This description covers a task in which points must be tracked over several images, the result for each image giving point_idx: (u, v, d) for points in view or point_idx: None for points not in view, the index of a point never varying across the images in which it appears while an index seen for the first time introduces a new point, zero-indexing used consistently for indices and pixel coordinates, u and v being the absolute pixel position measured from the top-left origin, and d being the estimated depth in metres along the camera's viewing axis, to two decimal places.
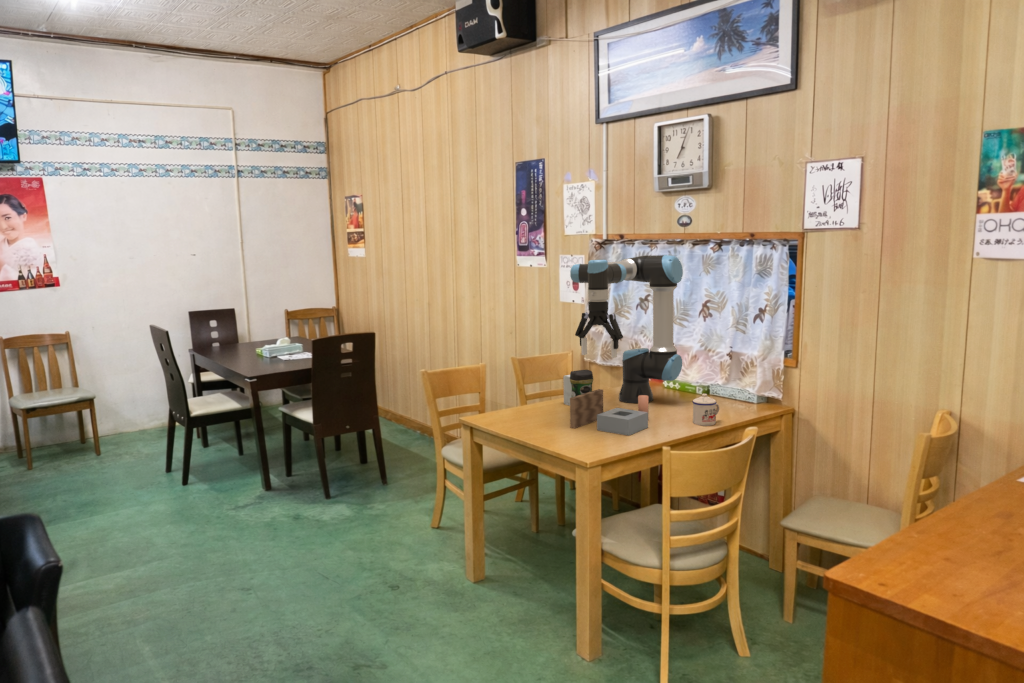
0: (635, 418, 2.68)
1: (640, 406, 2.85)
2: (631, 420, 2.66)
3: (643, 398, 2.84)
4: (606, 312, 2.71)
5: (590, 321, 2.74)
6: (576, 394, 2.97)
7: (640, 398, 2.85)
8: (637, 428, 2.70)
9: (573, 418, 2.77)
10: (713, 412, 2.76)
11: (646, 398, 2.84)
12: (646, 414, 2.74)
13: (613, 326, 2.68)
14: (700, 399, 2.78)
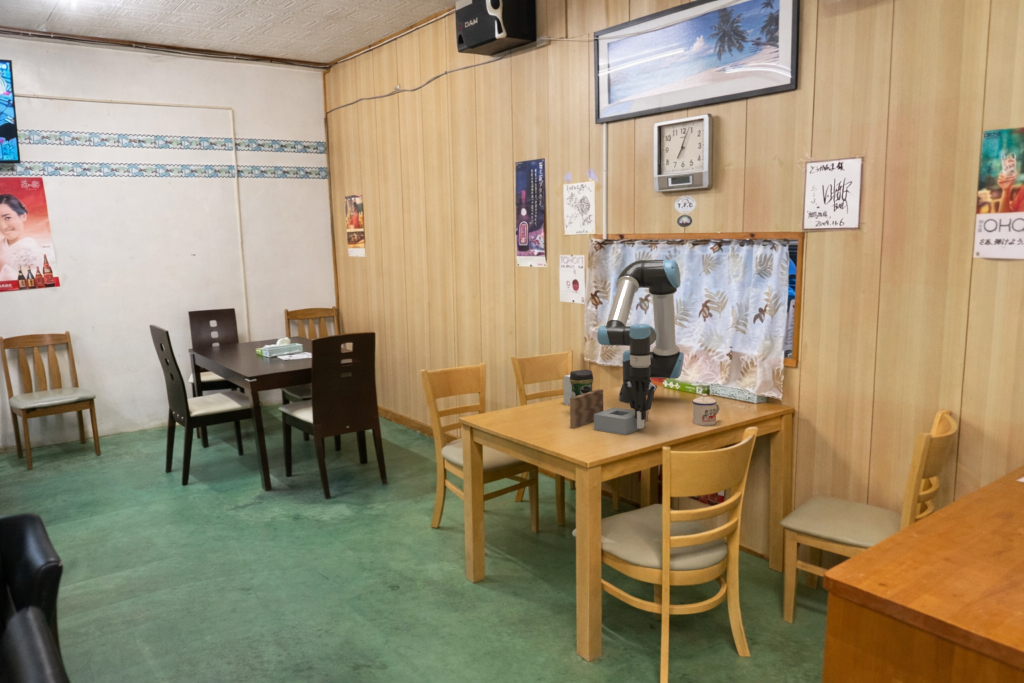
0: (632, 418, 2.69)
1: None
2: (628, 420, 2.67)
3: None
4: (649, 378, 2.65)
5: (635, 388, 2.67)
6: (576, 394, 2.97)
7: None
8: (634, 427, 2.71)
9: (573, 418, 2.77)
10: (713, 412, 2.76)
11: None
12: None
13: (648, 397, 2.65)
14: (700, 399, 2.78)
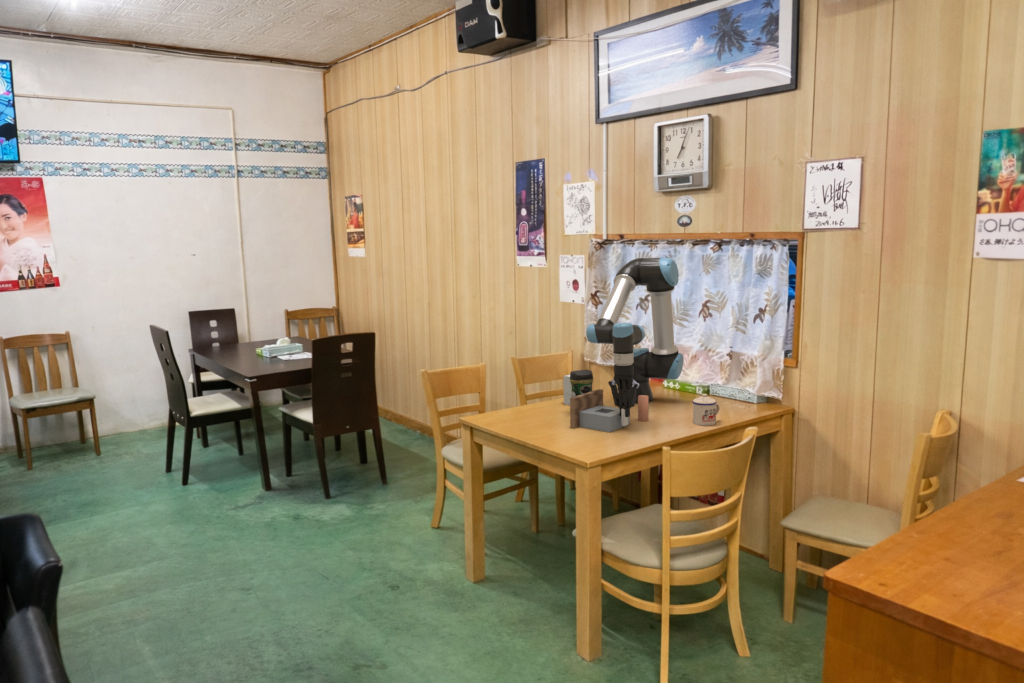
0: (617, 415, 2.73)
1: (640, 406, 2.85)
2: (612, 417, 2.71)
3: (643, 398, 2.84)
4: (632, 376, 2.69)
5: (618, 386, 2.72)
6: (576, 394, 2.97)
7: (640, 398, 2.85)
8: (619, 425, 2.75)
9: (573, 418, 2.77)
10: (713, 412, 2.76)
11: (646, 398, 2.84)
12: None
13: (632, 395, 2.69)
14: (700, 399, 2.78)
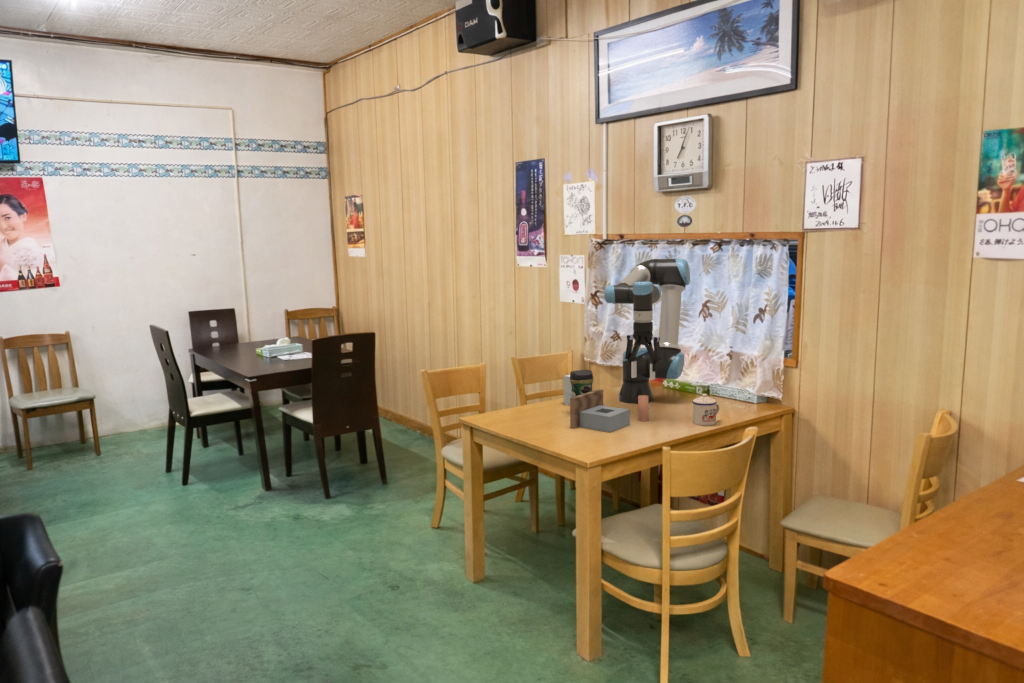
0: (617, 415, 2.73)
1: (640, 406, 2.85)
2: (613, 417, 2.71)
3: (643, 398, 2.84)
4: (651, 332, 2.80)
5: (636, 342, 2.83)
6: (576, 394, 2.97)
7: (640, 398, 2.85)
8: (619, 425, 2.75)
9: (573, 418, 2.77)
10: (713, 412, 2.76)
11: (646, 398, 2.84)
12: (628, 411, 2.79)
13: (655, 349, 2.78)
14: (700, 399, 2.78)
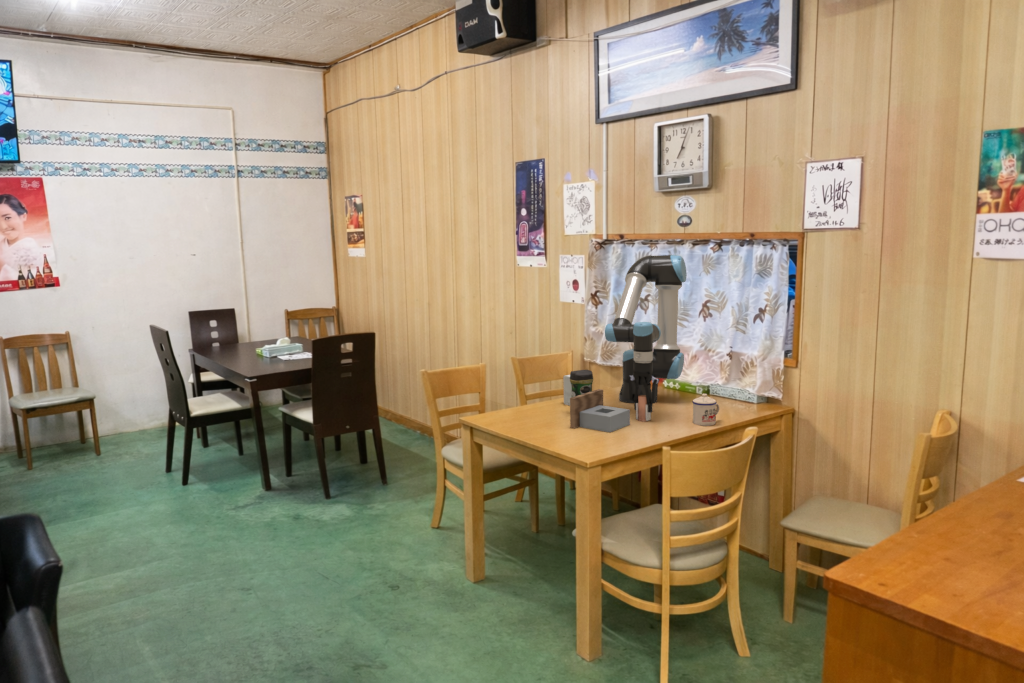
0: (617, 415, 2.73)
1: (640, 406, 2.85)
2: (613, 417, 2.71)
3: (643, 398, 2.84)
4: (651, 373, 2.82)
5: (637, 382, 2.85)
6: (576, 394, 2.97)
7: (640, 398, 2.84)
8: (619, 425, 2.75)
9: (573, 418, 2.77)
10: (713, 412, 2.76)
11: (646, 398, 2.84)
12: (628, 411, 2.79)
13: (653, 390, 2.81)
14: (700, 399, 2.77)
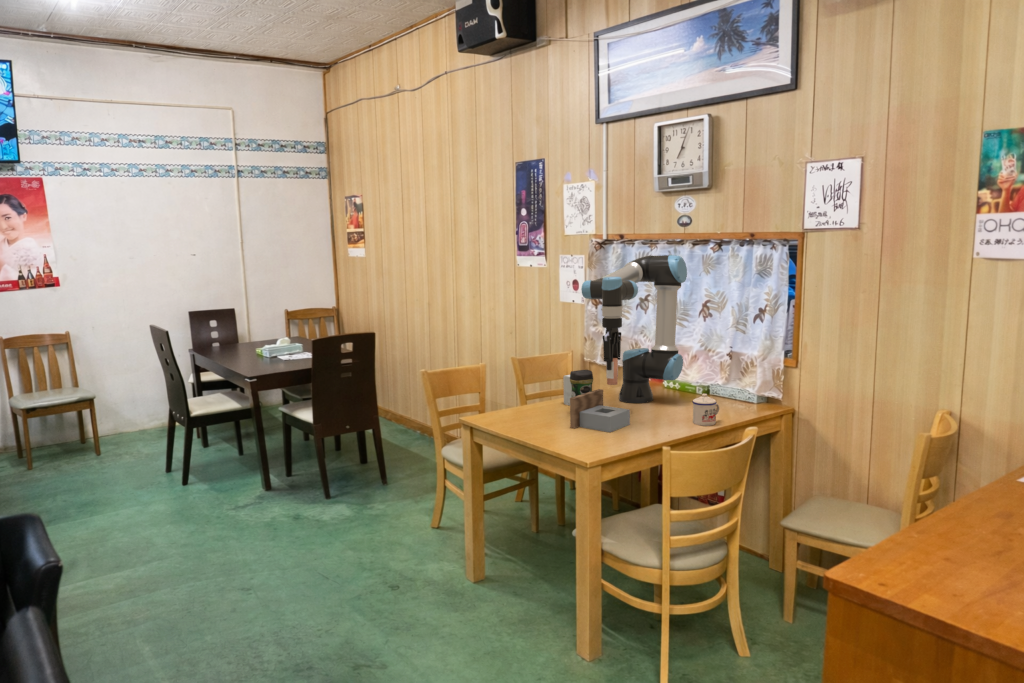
0: (617, 415, 2.73)
1: None
2: (613, 417, 2.71)
3: None
4: (608, 329, 2.73)
5: None
6: (576, 394, 2.97)
7: None
8: (619, 425, 2.75)
9: (573, 418, 2.77)
10: (713, 412, 2.76)
11: None
12: (628, 411, 2.79)
13: None
14: (700, 399, 2.78)
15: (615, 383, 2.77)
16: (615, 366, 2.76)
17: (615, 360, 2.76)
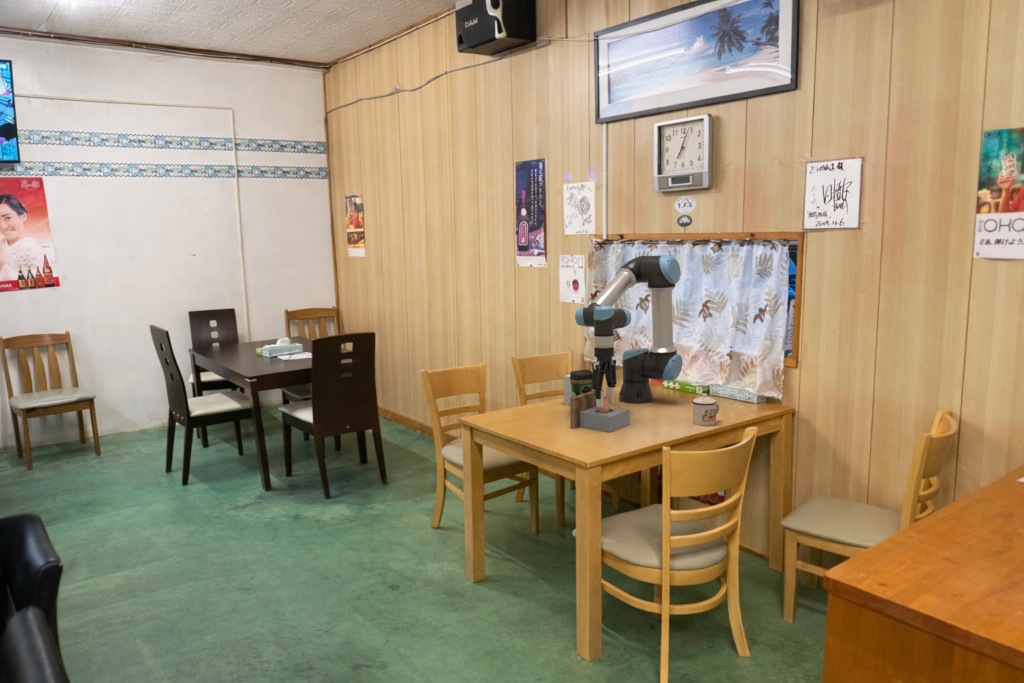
0: (617, 415, 2.73)
1: None
2: (613, 417, 2.71)
3: None
4: (598, 358, 2.74)
5: None
6: (576, 394, 2.97)
7: None
8: (619, 425, 2.75)
9: (573, 418, 2.77)
10: (713, 412, 2.76)
11: None
12: (628, 411, 2.79)
13: None
14: (700, 399, 2.78)
15: None
16: (605, 406, 2.76)
17: (605, 400, 2.76)
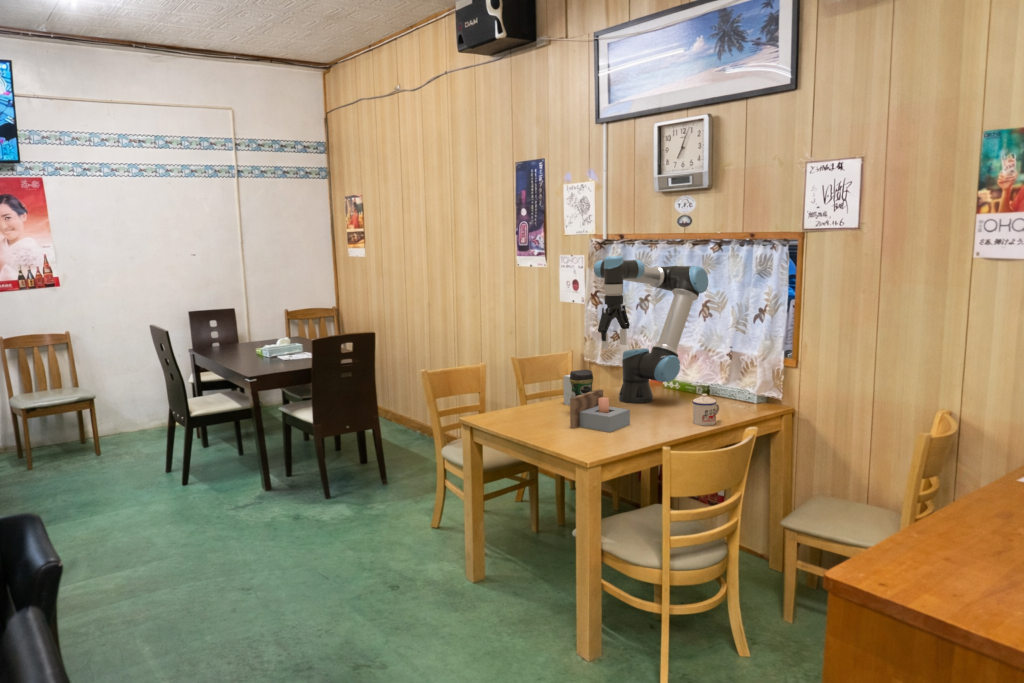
0: (617, 415, 2.73)
1: None
2: (613, 417, 2.71)
3: (598, 399, 2.79)
4: (608, 306, 2.88)
5: None
6: (576, 394, 2.97)
7: None
8: (619, 425, 2.75)
9: (573, 418, 2.77)
10: (713, 412, 2.76)
11: (599, 400, 2.77)
12: (628, 411, 2.79)
13: None
14: (700, 399, 2.78)
15: None
16: (606, 406, 2.77)
17: (606, 400, 2.77)
